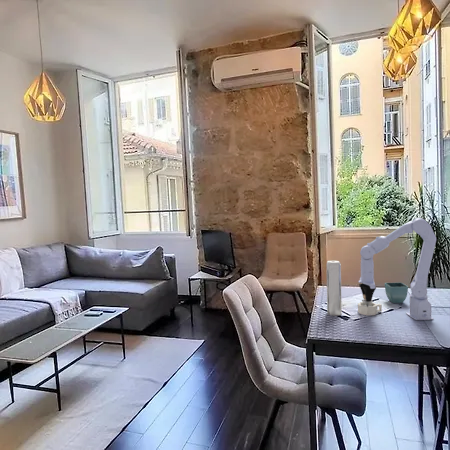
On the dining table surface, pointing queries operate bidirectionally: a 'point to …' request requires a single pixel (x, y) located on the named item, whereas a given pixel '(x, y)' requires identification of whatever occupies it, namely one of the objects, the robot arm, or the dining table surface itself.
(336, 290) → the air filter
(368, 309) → the press carafe
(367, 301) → the plunger
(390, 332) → the dining table surface
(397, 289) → the flower pot
